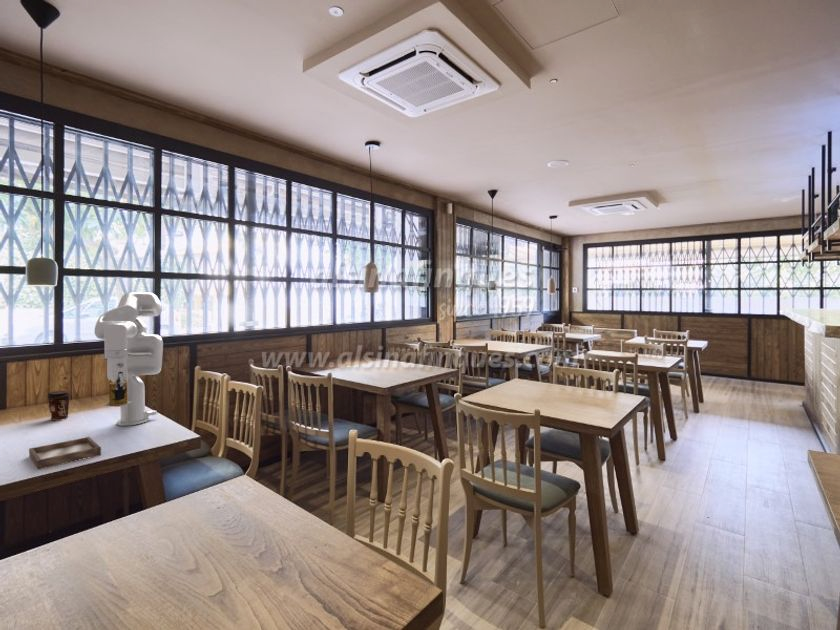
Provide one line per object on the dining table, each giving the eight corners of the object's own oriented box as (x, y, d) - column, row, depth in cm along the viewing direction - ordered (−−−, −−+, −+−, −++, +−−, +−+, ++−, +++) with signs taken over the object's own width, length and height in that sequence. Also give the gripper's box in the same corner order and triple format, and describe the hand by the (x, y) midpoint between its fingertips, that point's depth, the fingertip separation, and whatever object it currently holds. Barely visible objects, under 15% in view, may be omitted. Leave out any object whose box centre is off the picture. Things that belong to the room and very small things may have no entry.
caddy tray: (89, 444, 173) (89, 436, 173) (101, 455, 162) (100, 447, 162) (29, 456, 159) (29, 448, 159) (37, 469, 148) (37, 460, 148)
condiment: (119, 407, 171) (119, 377, 170) (99, 406, 171) (98, 376, 171) (133, 402, 178) (132, 373, 177) (114, 401, 179) (113, 372, 178)
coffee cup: (43, 420, 202) (42, 392, 202) (62, 415, 210) (62, 389, 209) (55, 422, 199) (54, 394, 199) (74, 417, 207) (74, 391, 206)
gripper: (134, 355, 170) (134, 400, 171) (120, 350, 181) (121, 392, 182) (111, 357, 164) (112, 403, 166) (98, 352, 176) (99, 395, 177)
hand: (117, 397), depth 174 cm, fingers closed on condiment, 6 cm apart
